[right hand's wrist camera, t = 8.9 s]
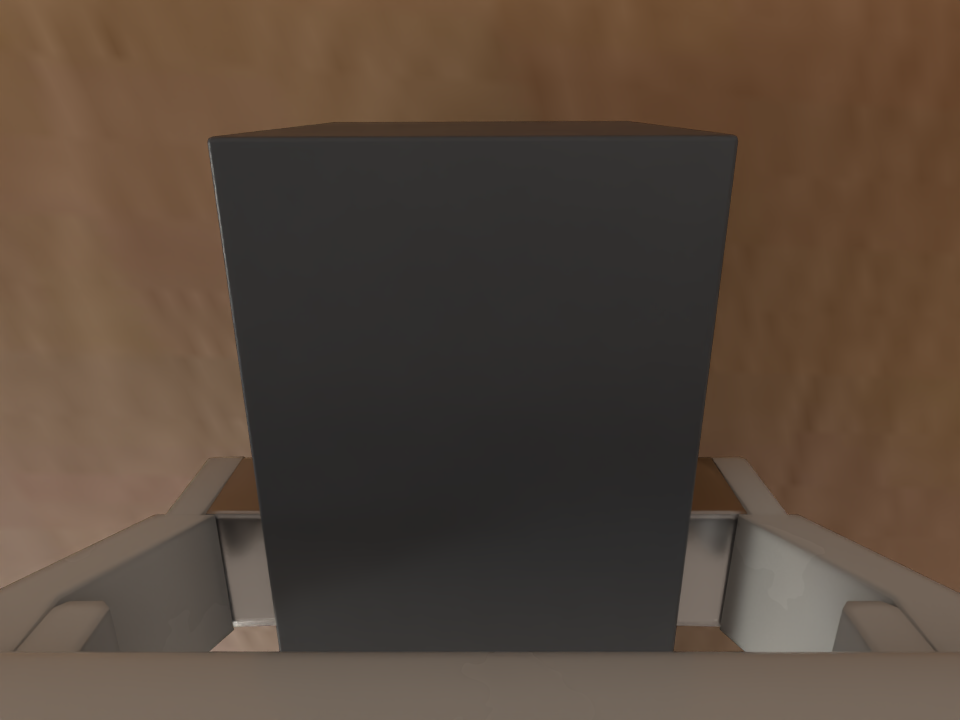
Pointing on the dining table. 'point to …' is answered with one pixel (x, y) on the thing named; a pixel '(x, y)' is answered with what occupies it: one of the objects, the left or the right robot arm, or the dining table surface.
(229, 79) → the dining table surface
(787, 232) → the dining table surface
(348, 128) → the post
